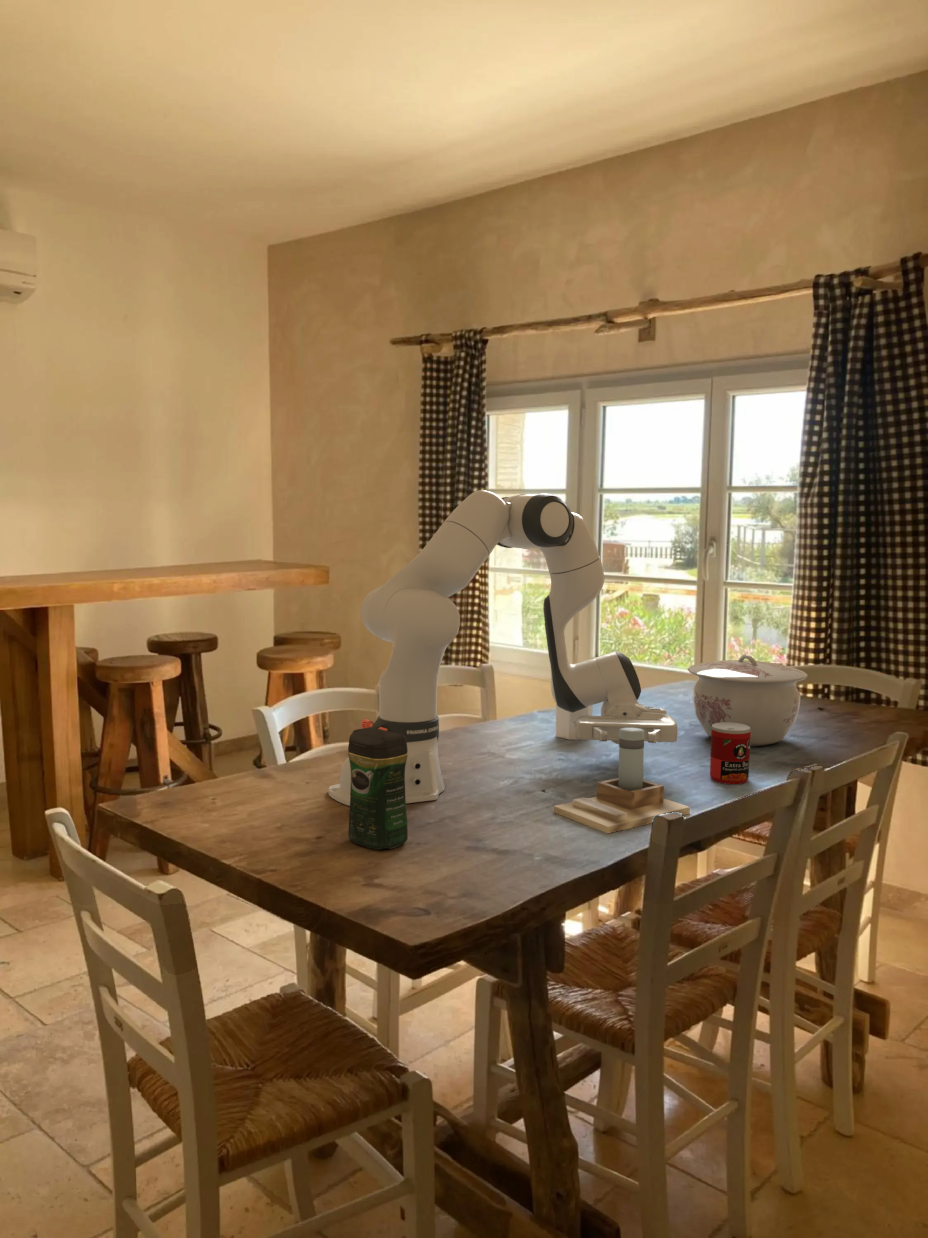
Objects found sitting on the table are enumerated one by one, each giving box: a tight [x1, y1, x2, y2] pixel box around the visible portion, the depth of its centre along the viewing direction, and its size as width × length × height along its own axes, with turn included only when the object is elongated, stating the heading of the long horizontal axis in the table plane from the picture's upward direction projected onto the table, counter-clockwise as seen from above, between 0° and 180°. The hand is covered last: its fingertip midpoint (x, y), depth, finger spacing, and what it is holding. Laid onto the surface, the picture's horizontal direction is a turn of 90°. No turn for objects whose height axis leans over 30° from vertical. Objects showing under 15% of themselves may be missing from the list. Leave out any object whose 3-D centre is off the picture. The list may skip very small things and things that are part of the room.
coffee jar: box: [347, 727, 409, 850], centre depth 156 cm, size 10×8×19 cm
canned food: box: [709, 722, 751, 785], centre depth 196 cm, size 8×8×11 cm
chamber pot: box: [687, 653, 809, 747], centre depth 230 cm, size 28×28×21 cm
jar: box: [555, 704, 593, 741], centre depth 233 cm, size 9×8×12 cm
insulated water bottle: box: [617, 728, 645, 791], centre depth 177 cm, size 4×4×13 cm
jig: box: [553, 777, 691, 834], centre depth 173 cm, size 20×14×4 cm
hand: (627, 738), depth 188 cm, fingers open, 8 cm apart
